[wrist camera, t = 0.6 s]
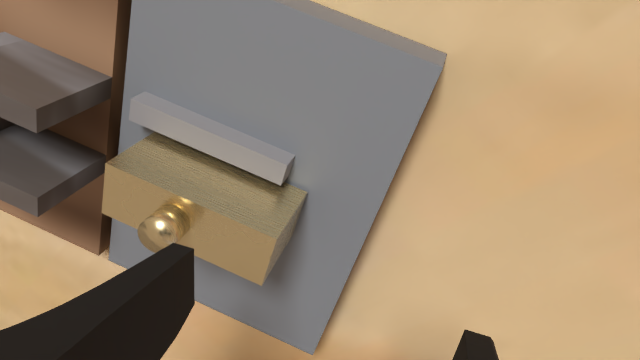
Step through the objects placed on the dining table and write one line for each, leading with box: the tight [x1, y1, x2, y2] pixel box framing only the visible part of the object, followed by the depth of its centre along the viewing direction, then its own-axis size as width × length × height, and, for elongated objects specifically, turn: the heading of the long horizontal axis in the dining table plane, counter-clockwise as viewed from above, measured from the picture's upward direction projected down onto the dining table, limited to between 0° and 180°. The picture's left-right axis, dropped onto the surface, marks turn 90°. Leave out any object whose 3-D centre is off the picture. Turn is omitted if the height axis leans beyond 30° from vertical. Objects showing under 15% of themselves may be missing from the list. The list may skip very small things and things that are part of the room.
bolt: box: [102, 132, 307, 286], centre depth 19 cm, size 2×7×5 cm, turn 72°
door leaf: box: [109, 0, 447, 355], centre depth 22 cm, size 16×12×3 cm
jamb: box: [0, 0, 132, 255], centre depth 22 cm, size 16×7×6 cm, turn 162°
